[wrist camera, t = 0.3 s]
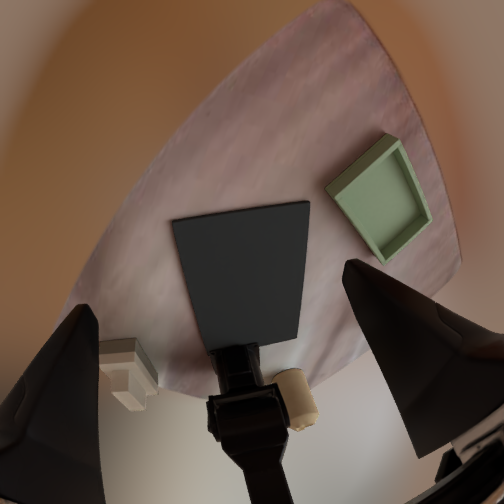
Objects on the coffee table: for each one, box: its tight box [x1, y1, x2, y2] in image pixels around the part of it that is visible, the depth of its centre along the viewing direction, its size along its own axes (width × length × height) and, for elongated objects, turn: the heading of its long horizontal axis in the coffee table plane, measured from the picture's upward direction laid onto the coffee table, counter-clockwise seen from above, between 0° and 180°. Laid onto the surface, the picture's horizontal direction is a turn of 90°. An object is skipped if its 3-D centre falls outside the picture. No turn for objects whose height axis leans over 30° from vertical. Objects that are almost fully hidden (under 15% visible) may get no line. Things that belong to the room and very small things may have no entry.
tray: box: [325, 134, 433, 266], centre depth 25 cm, size 12×8×2 cm
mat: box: [172, 201, 310, 356], centre depth 29 cm, size 20×12×1 cm, turn 3°
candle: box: [272, 369, 319, 432], centre depth 40 cm, size 6×6×10 cm
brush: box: [99, 338, 159, 411], centre depth 30 cm, size 9×5×6 cm, turn 3°
